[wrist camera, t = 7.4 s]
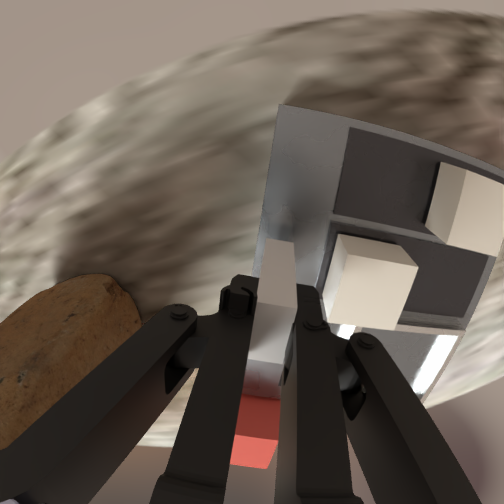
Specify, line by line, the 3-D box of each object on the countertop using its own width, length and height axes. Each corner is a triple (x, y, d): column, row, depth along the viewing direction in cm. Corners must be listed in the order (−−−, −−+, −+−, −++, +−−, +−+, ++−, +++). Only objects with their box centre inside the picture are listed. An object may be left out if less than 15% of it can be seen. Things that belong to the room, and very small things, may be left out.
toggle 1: (322, 294, 19) (327, 322, 16) (338, 233, 18) (347, 254, 15) (381, 303, 19) (393, 330, 16) (400, 245, 17) (418, 267, 15)
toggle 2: (424, 226, 17) (446, 244, 14) (441, 161, 15) (466, 169, 12) (473, 238, 17) (497, 256, 14) (489, 179, 15) (516, 190, 12)
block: (132, 266, 24) (-37, 475, 5) (158, 342, 26) (60, 546, 8) (41, 274, 25) (-101, 409, 7) (69, 339, 28) (-36, 482, 10)
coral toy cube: (221, 402, 29) (208, 459, 22) (226, 368, 27) (211, 430, 20) (271, 411, 29) (266, 469, 22) (281, 377, 27) (278, 440, 20)
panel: (237, 367, 27) (230, 402, 23) (279, 107, 18) (278, 102, 14) (411, 385, 26) (422, 416, 22) (496, 170, 18) (529, 181, 14)
